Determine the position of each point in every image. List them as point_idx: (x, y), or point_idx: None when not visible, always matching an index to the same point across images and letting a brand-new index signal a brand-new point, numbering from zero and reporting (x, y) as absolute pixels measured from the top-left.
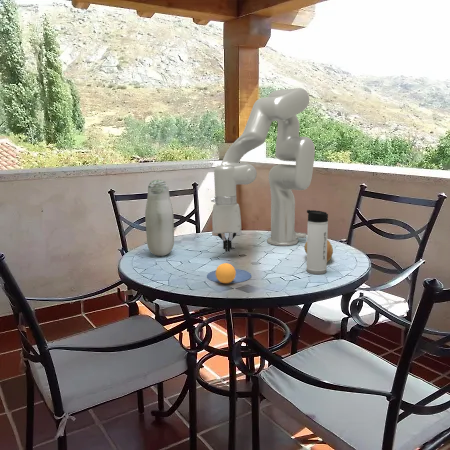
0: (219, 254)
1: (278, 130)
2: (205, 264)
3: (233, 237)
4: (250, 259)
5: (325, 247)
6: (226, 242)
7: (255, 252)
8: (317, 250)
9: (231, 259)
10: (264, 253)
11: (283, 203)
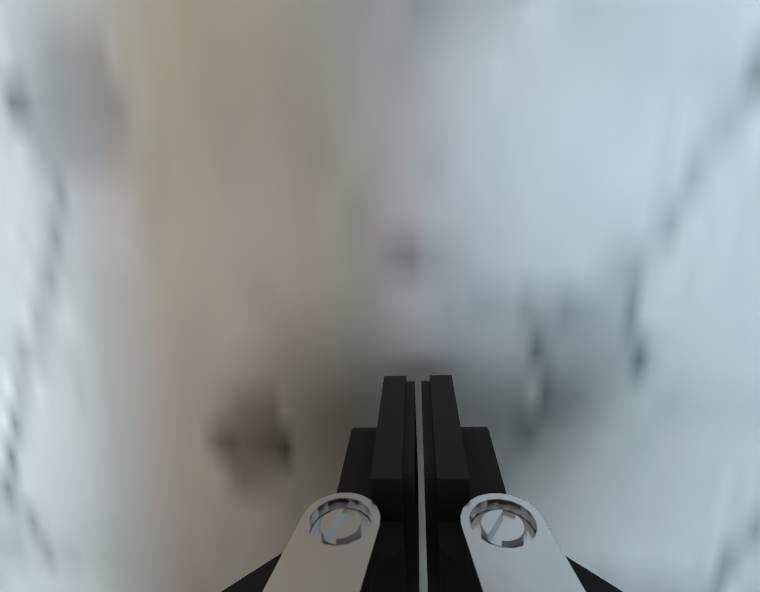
0: None
1: None
2: (754, 66)
3: (264, 572)
4: (150, 281)
5: None
6: (439, 460)
7: (128, 530)
8: None
9: (374, 295)
10: (35, 488)
11: None
